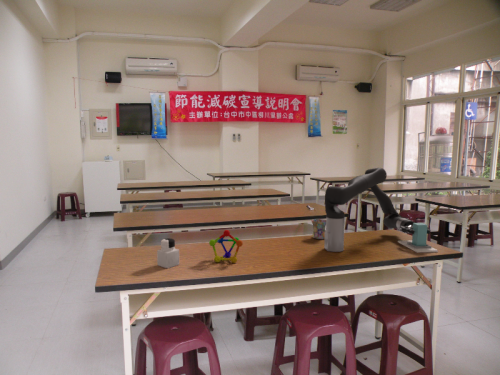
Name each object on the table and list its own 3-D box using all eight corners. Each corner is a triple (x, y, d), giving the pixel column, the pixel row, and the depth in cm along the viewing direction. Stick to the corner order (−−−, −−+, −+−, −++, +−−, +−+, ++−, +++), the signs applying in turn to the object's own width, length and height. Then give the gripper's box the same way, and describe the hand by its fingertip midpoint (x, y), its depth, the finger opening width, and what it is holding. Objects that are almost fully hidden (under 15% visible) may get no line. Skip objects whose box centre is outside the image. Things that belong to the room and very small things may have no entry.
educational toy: (238, 257, 174) (241, 227, 172) (241, 265, 161) (244, 234, 159) (207, 255, 172) (210, 225, 170) (207, 263, 159) (210, 231, 157)
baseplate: (417, 252, 178) (417, 248, 178) (397, 242, 198) (398, 238, 198) (437, 252, 179) (438, 248, 178) (416, 241, 199) (416, 238, 198)
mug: (329, 239, 205) (330, 221, 204) (315, 240, 202) (316, 222, 200) (319, 234, 216) (319, 217, 215) (306, 235, 213) (306, 218, 212)
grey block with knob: (169, 261, 164) (169, 236, 162) (179, 264, 159) (179, 239, 158) (157, 265, 158) (156, 239, 157) (167, 268, 154) (166, 242, 152)
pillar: (416, 247, 184) (418, 225, 182) (411, 244, 188) (413, 223, 187) (426, 247, 184) (427, 224, 183) (420, 244, 189) (421, 223, 188)
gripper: (394, 219, 199) (409, 225, 183) (418, 219, 200) (435, 225, 184) (393, 232, 199) (408, 239, 183) (417, 231, 200) (434, 239, 184)
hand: (421, 232), depth 183 cm, fingers open, 8 cm apart
